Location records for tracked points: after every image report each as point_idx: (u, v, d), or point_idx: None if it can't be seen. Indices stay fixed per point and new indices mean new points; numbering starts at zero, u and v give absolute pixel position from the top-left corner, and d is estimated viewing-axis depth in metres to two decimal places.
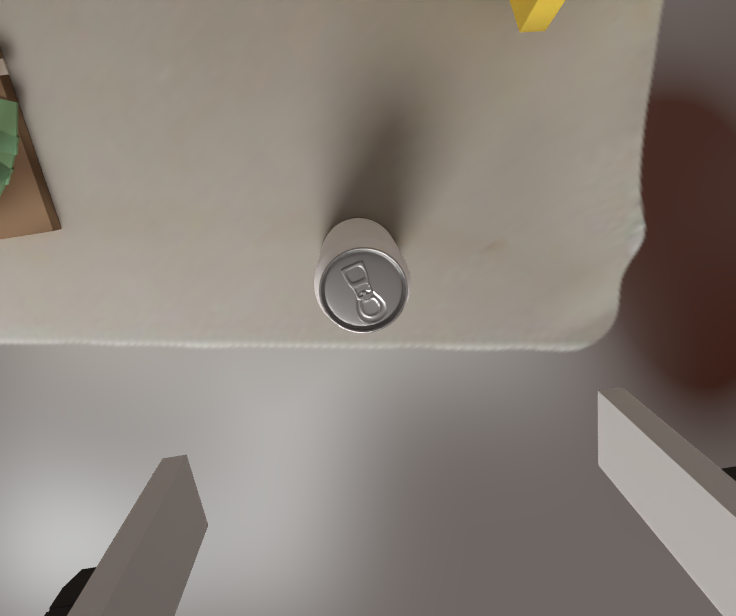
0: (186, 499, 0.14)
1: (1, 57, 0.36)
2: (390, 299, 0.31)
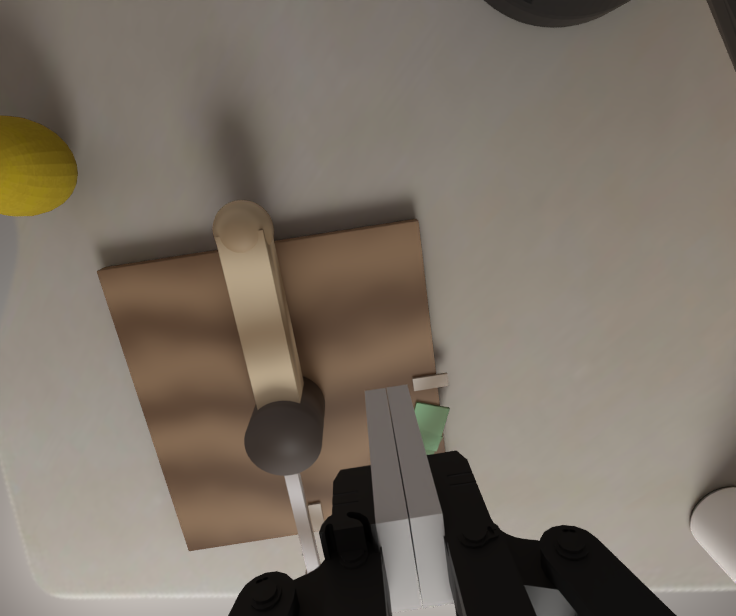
0: None
1: None
2: None
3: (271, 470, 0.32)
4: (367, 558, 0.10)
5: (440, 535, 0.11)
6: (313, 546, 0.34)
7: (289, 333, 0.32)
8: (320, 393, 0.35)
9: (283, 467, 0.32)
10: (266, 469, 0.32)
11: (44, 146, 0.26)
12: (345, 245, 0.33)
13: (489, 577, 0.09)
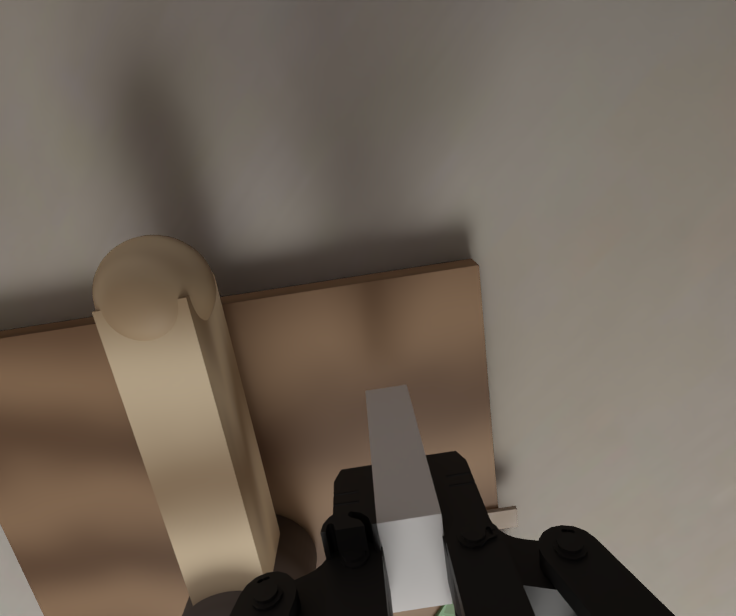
0: None
1: None
2: None
3: None
4: (368, 558, 0.10)
5: (439, 535, 0.11)
6: None
7: (250, 468, 0.18)
8: (308, 544, 0.21)
9: None
10: None
11: None
12: (350, 306, 0.19)
13: (488, 577, 0.09)
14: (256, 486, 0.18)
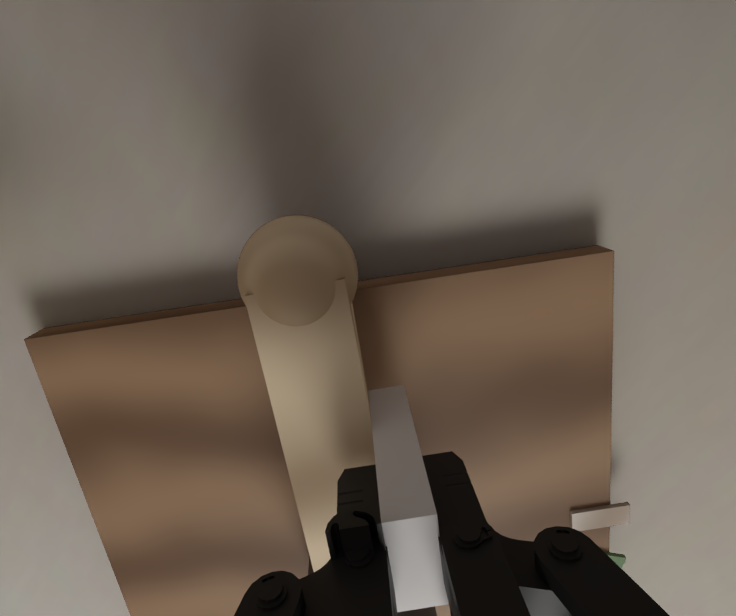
0: None
1: None
2: None
3: None
4: (373, 557, 0.10)
5: (434, 536, 0.11)
6: None
7: None
8: None
9: None
10: None
11: None
12: (479, 294, 0.18)
13: (483, 578, 0.09)
14: None
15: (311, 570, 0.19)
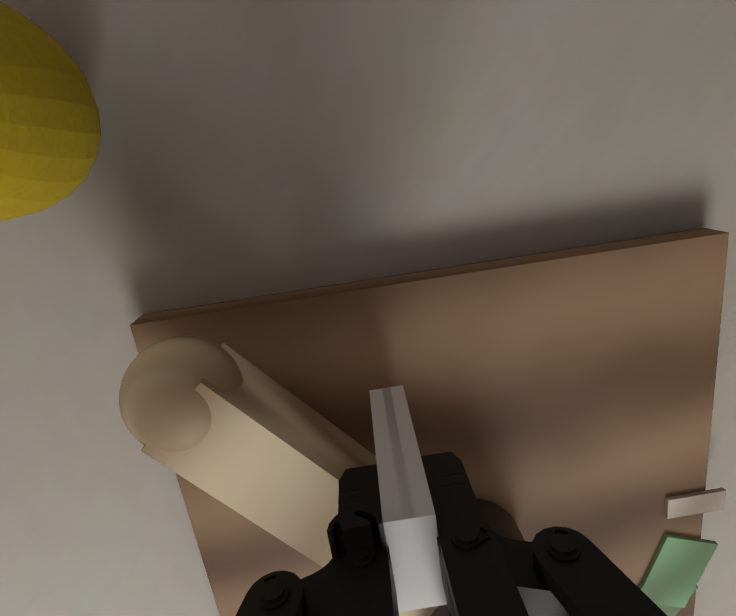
0: None
1: None
2: None
3: None
4: (374, 557, 0.10)
5: (433, 536, 0.11)
6: None
7: None
8: (493, 510, 0.20)
9: None
10: None
11: (32, 55, 0.11)
12: (593, 276, 0.18)
13: (482, 578, 0.09)
14: None
15: None
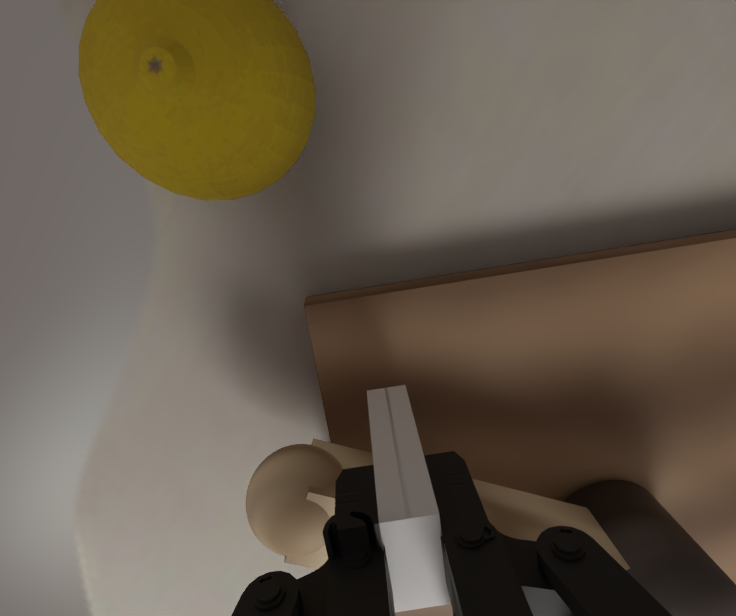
0: None
1: None
2: None
3: None
4: (370, 557, 0.10)
5: (437, 535, 0.11)
6: None
7: (500, 508, 0.17)
8: (618, 488, 0.20)
9: None
10: None
11: (295, 38, 0.12)
12: None
13: (486, 578, 0.09)
14: (521, 511, 0.18)
15: None
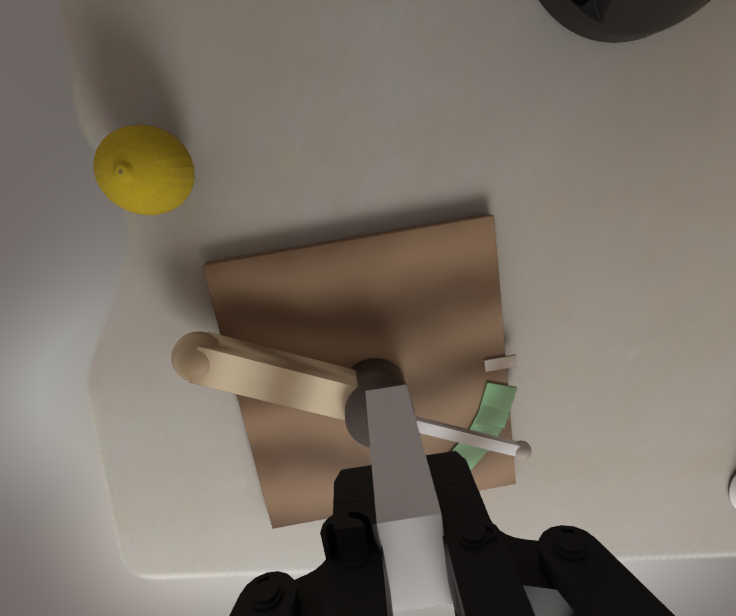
0: None
1: None
2: None
3: None
4: (368, 558, 0.10)
5: (439, 535, 0.11)
6: (492, 440, 0.35)
7: (299, 363, 0.35)
8: (374, 360, 0.38)
9: None
10: None
11: (177, 151, 0.30)
12: (428, 238, 0.36)
13: (488, 577, 0.09)
14: (311, 365, 0.36)
15: None
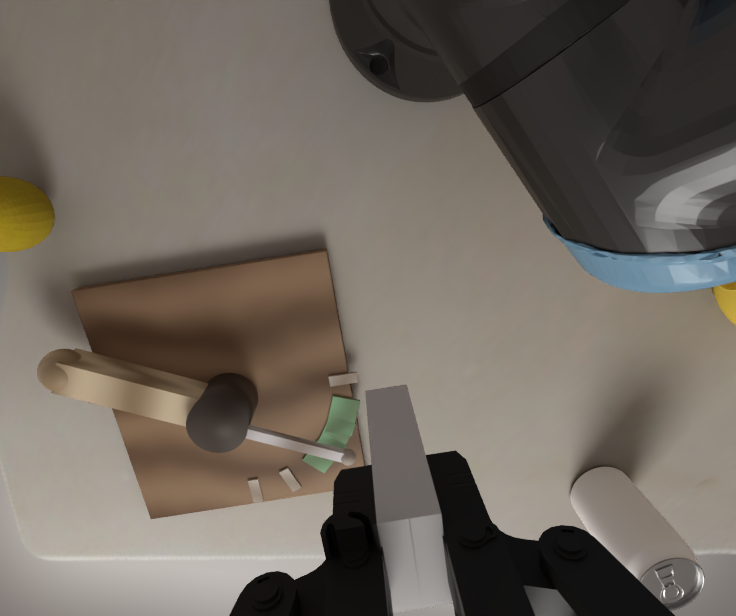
0: None
1: None
2: (687, 587, 0.40)
3: (236, 444, 0.40)
4: (368, 558, 0.10)
5: (439, 535, 0.11)
6: (319, 447, 0.41)
7: (153, 377, 0.41)
8: (226, 375, 0.43)
9: (237, 435, 0.40)
10: (234, 447, 0.40)
11: (27, 200, 0.35)
12: (268, 270, 0.41)
13: (488, 577, 0.09)
14: (164, 379, 0.41)
15: None
